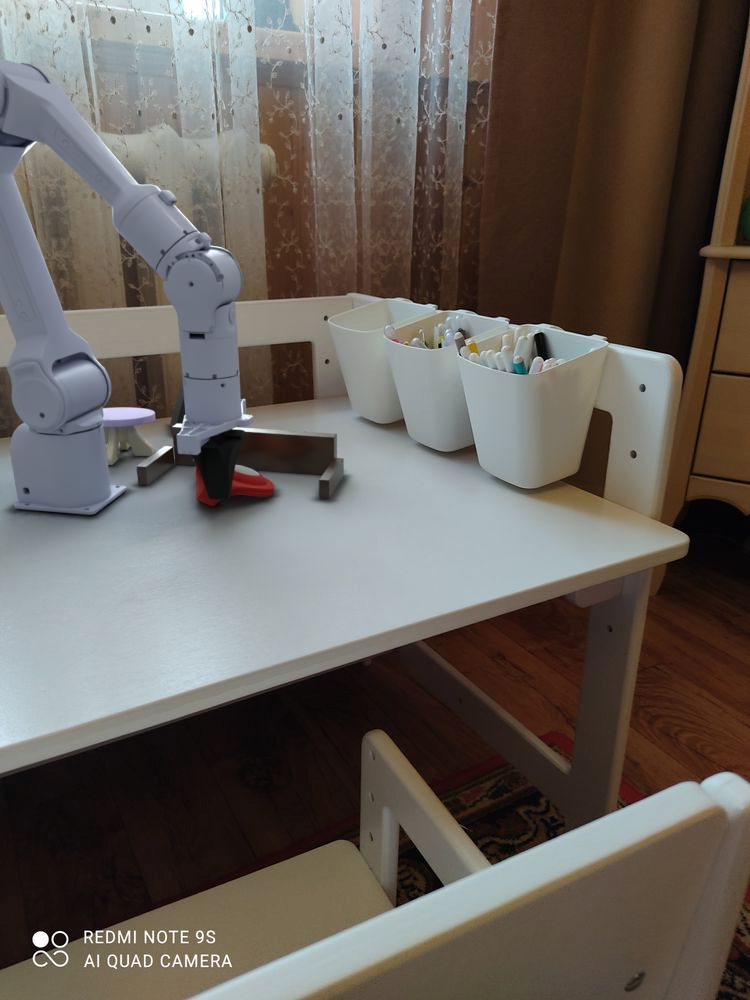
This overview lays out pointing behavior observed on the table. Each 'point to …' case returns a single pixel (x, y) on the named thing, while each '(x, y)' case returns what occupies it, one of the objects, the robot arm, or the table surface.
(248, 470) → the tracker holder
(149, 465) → the footed wooden plank
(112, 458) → the toy table
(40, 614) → the table surface
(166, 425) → the table surface
